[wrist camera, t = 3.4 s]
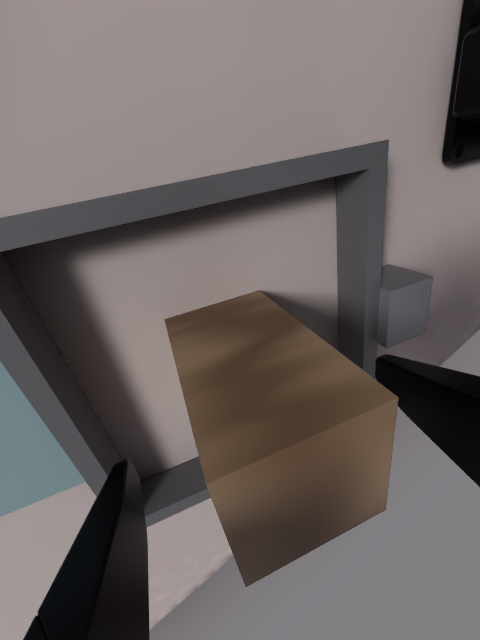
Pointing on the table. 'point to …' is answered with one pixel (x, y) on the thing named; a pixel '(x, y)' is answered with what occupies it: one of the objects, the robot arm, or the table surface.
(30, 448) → the rubber mat
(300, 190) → the table surface
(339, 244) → the gray rectangular frame
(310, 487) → the walnut plug block
